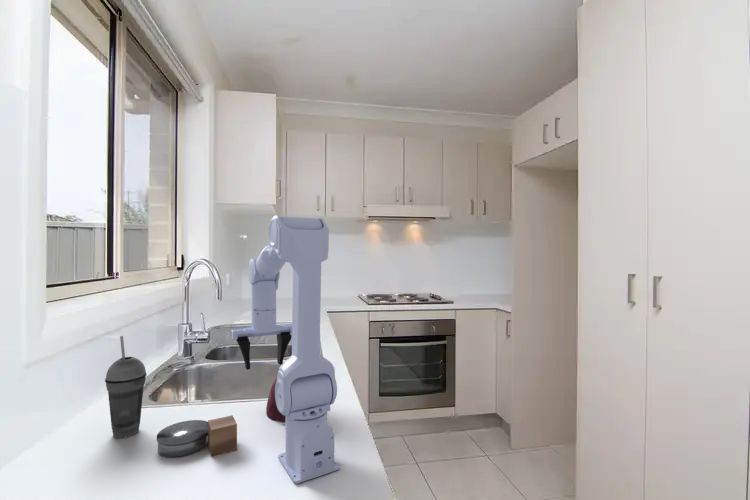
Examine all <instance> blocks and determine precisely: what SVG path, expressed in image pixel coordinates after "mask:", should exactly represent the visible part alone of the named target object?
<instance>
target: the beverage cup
mask: <svg viewBox="0 0 750 500" xmlns="http://www.w3.org/2000/svg"><path fill="white" fill-rule="evenodd" d="M119 339H120V349H121V357H120V358H119V359H117V360H116V361H114V362H113V363H112V364H111V365H110V366H109V367H108V370H107V371H106V374H105V379H104V383H105V387H106V390H107V396H108V405H109V415H110V423H111V424H110V426H111V430H112V431H111V432H112V437H113V438H114V439H125V438H129V437H132V436H134V435H136V434H137V433H139V431H140V425H141V417H142V416H141V415H142V406H143V397H144V395H143V394H144V385H145V383H146V379H147V378H146V377H147V371H146V366H145V364H144V363H143V361H142V360H140V359H139V358H136V357H132V356H126V352H125V344H124V336H123V335H121V336H119Z"/></svg>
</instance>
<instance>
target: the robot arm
mask: <svg viewBox="0 0 750 500" xmlns="http://www.w3.org/2000/svg"><path fill="white" fill-rule="evenodd" d="M327 225H328V224H327V223H326V222H325V220H324V219H323V218H322V217H299V216H280V215H278V214H277V215H276V214H275V215H274V216H273V217H272V218H271V219H270V221H269V226H268V242H269V244H267V245H266V246H264V248H263V249H262V251H261V252H260V254H259V255H258V257H257V258H256V259H255V258H250V260H249V263H248V267H247V268H248V270H247V272H248V274H247V275H248V281H249V283H250V284H251V327H250V326H249V327H243V328H238V329H231V339H232V341H233V340H234V341H236V342H237V344H238V347H239V349H240V351H241V354H242V357H243V360H244V361H243V362H244V368H245V369H246V370H251V359H250V355H251V354H250V353H251V351H250V350H251V341H250V338H256V337H264V336H274V335H276V342H277V343H276V344H277V352H276V353H277V354H276V355H277V359H276V361H277V364H278V365H280V366H279V368H278V371H277V377H276V378H277V382H276V385H275V399H276V405H277V408H278V410H279V412H280V413H281V414H282V415H284V416H285V415H286V422H285V452H283V453H279V454H278V457H277V458H278V460H279V461H280V463H281V464H282V466H283V467H284V469H285V470H286V473H287V474H288V475H289V477H290V479H291V481H293V484H299V483H304V482H306V481H309V480H311V479H314V478H318V477H321V476H323V475H326V474H330V473H333V472H336V471H339V470H340V465H339V464H338V462H337V461H336V460H335V432H334V430H333V428H332V427H331V425H330V424H329V422H328V412H331V405H333V404H334V403H335V402H336V399H337V395H338V384H337V383H338V382H337V380H336V373H335V372H336V371H335V370H336V369H335V366H334V365H333V363H332V362H331V361H330V360H329V359H327V358H325V357H324V356H323V355H321V354H320V348H321V341H320V340H321V299H322V298H321V297H322V296H321V292H322V291H321V290H322V289H321V288H322V284H321V283H322V264H323V262H325V261H326V260H328V259H329V247H330V246H329V244H330V243H329V242H330V241H329V240H330V237H329V236H330V235H329V234H330V231H329V227H328V226H327ZM286 262H287V263H288V264H290V266H291V268H292V310H291V311H292V318H291V319H292V323H290V324H277V291H278V289H279V281H280V275H281V274H280V273H281V272H280V271H281V269H282V268H283V267H284V266H285V264H286ZM290 342H291V356H289V358H287V359H286V360H285V362H284V357H285V354H286V351H287V348H288V345H289V343H290Z"/></svg>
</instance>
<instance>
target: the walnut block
mask: <svg viewBox="0 0 750 500" xmlns="http://www.w3.org/2000/svg"><path fill="white" fill-rule="evenodd" d="M207 422H208V446H207V448H208V451H209V453H210V454H209V455H210V458H213V457H217V456H222V455H225V454H229V453H231V452H235V451H238V423H237V422H236V419H235V417H234V415H232V414H231V415H227V416H223V417H217V418H214V419H209V420H207Z"/></svg>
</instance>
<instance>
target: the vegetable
mask: <svg viewBox="0 0 750 500" xmlns="http://www.w3.org/2000/svg"><path fill="white" fill-rule="evenodd" d="M276 382H277V377H276V378H275V379H274V381H273V383H272V385H271V387H270V390H269V394H268V397H267V402H266V406H265V407H266V408H265V409H266V411H265V412H266V413H265V414H266V417H267V418H268V419H270V420H271V421H275V422H281V423H286V415H285V416H284V415H282V414H281V413H280V412H279V410H278V408H277V405H276V399H275V385H276Z"/></svg>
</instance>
